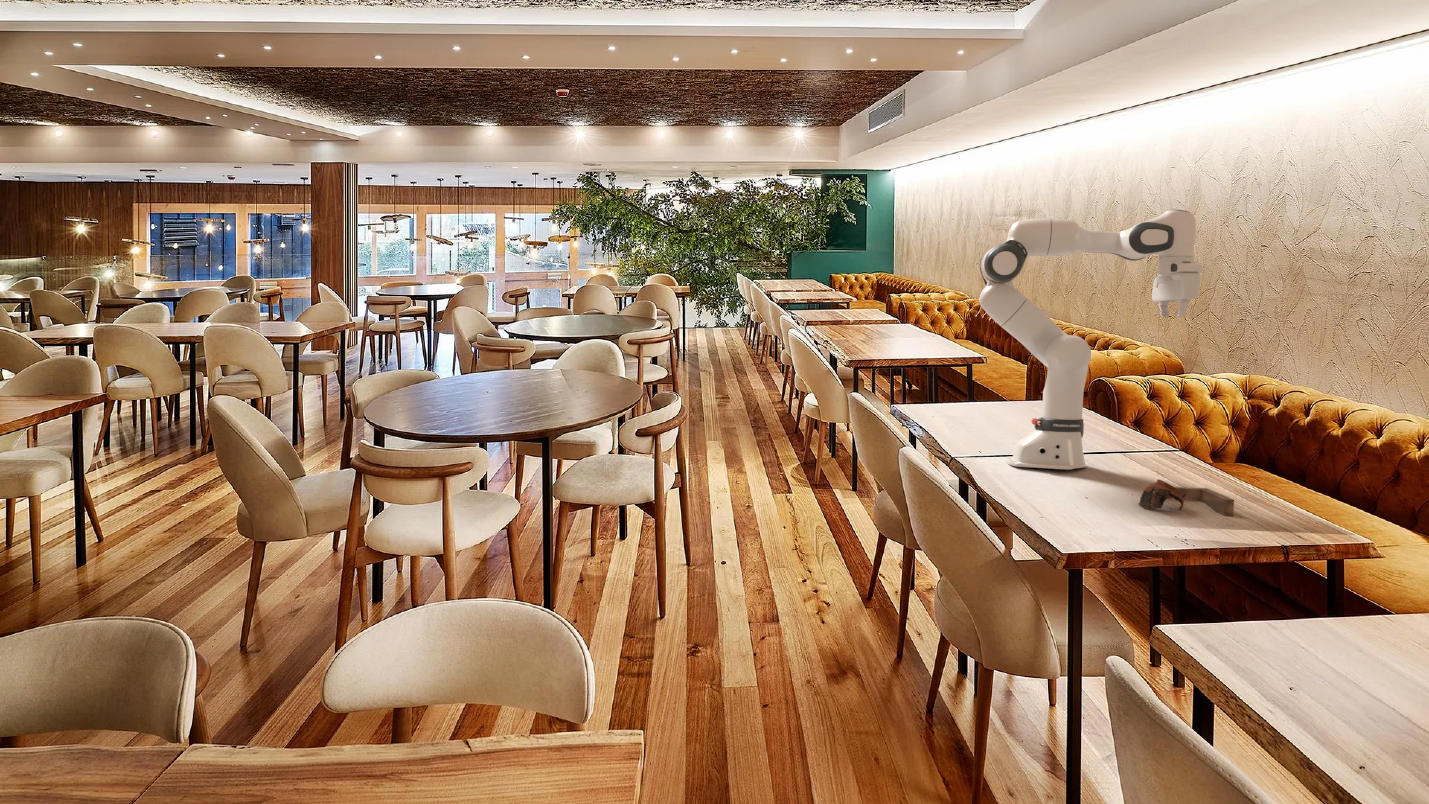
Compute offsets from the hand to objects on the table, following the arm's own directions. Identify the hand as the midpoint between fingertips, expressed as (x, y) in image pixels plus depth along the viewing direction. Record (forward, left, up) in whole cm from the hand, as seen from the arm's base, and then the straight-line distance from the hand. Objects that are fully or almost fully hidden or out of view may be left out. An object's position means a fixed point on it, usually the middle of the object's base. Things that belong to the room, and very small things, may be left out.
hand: (1172, 316), depth 232 cm
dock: (+2, -30, -50) cm, 58 cm away
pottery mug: (-14, -34, -51) cm, 63 cm away
